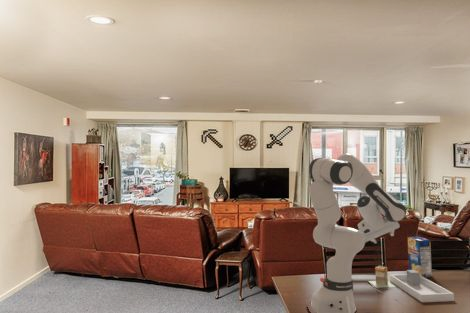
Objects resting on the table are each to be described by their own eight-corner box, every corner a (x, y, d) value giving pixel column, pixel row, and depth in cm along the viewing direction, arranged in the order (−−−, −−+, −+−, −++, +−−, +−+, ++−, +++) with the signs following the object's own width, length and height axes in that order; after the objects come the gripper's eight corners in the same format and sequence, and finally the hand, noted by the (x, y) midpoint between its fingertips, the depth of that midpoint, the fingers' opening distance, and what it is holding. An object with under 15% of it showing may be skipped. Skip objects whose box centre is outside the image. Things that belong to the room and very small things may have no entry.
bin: (421, 304, 153) (421, 294, 154) (390, 282, 182) (389, 274, 183) (454, 302, 154) (453, 293, 154) (417, 281, 183) (417, 273, 183)
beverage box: (421, 278, 188) (419, 240, 188) (409, 272, 198) (407, 236, 199) (432, 277, 188) (430, 240, 189) (419, 272, 199) (417, 236, 200)
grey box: (411, 285, 175) (411, 272, 175) (407, 282, 179) (406, 270, 179) (419, 285, 175) (419, 272, 175) (415, 282, 179) (414, 269, 179)
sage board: (376, 289, 173) (376, 287, 173) (368, 282, 183) (368, 281, 183) (396, 288, 174) (396, 286, 174) (387, 282, 184) (386, 280, 184)
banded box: (384, 285, 175) (383, 269, 176) (375, 283, 179) (375, 267, 179) (388, 283, 178) (387, 267, 179) (379, 281, 182) (379, 265, 182)
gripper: (391, 209, 167) (400, 226, 172) (354, 225, 172) (364, 242, 177) (396, 216, 161) (405, 234, 167) (358, 233, 166) (368, 250, 171)
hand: (384, 238), depth 172 cm, fingers open, 8 cm apart
